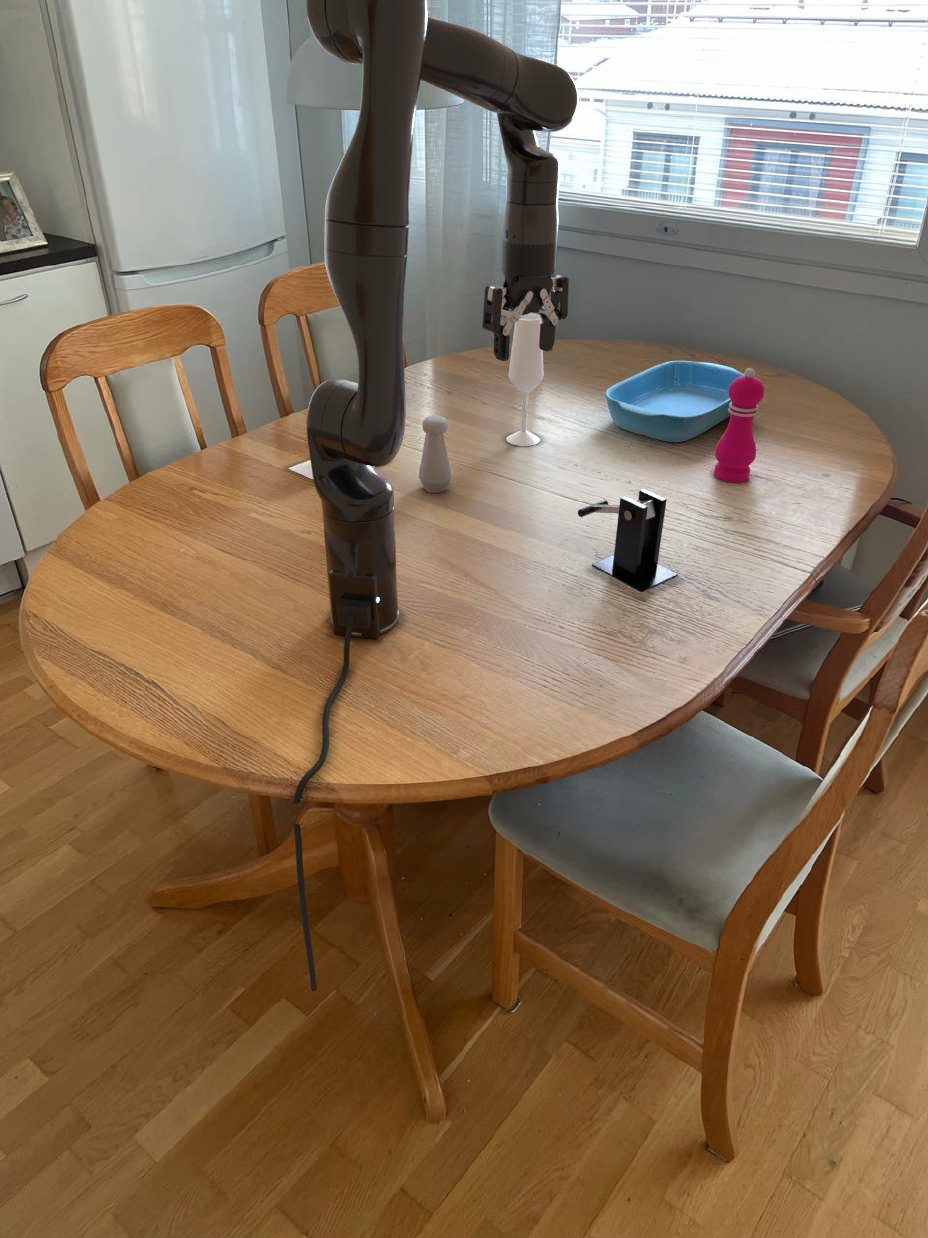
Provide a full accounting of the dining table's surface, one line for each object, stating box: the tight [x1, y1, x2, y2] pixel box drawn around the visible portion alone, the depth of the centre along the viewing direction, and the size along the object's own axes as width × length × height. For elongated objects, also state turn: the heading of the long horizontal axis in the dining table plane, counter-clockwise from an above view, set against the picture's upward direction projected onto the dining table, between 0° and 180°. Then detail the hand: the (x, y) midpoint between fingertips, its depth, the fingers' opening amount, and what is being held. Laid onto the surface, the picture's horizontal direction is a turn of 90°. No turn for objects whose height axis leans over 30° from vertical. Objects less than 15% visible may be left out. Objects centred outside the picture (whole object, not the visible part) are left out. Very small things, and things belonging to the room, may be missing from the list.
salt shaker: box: [418, 415, 453, 494], centre depth 160 cm, size 6×6×13 cm
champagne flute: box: [506, 313, 544, 447], centre depth 177 cm, size 7×7×24 cm
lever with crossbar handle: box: [577, 499, 655, 520], centre depth 136 cm, size 12×6×2 cm, turn 39°
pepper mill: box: [713, 367, 765, 483], centre depth 164 cm, size 7×7×20 cm
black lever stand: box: [591, 488, 679, 593], centre depth 135 cm, size 10×8×13 cm
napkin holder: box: [287, 459, 313, 480], centre depth 170 cm, size 15×11×6 cm
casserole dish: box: [604, 360, 745, 443], centre depth 192 cm, size 37×22×7 cm, turn 140°
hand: (524, 354), depth 135 cm, fingers open, 8 cm apart
